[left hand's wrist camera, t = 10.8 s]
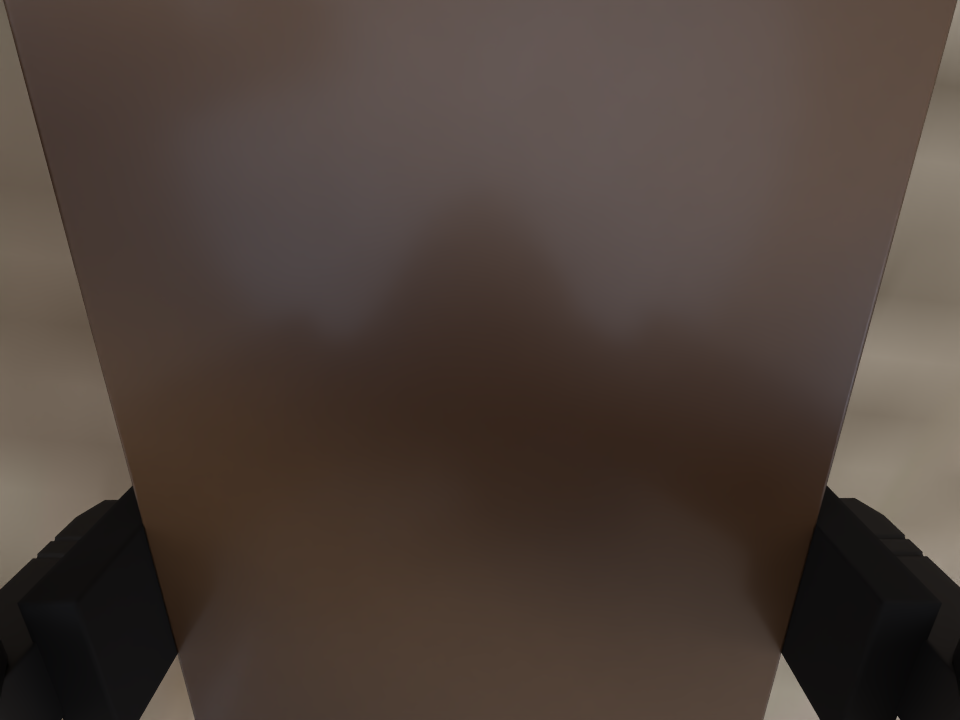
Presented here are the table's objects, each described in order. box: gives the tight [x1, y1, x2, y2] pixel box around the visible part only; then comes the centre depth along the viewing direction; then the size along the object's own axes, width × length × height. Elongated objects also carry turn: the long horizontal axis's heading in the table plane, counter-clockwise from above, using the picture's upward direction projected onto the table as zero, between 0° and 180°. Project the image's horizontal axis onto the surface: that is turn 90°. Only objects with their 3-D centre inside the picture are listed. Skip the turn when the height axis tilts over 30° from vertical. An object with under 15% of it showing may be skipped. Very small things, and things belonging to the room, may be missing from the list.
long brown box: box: [3, 0, 957, 720], centre depth 13 cm, size 17×10×11 cm, turn 0°
